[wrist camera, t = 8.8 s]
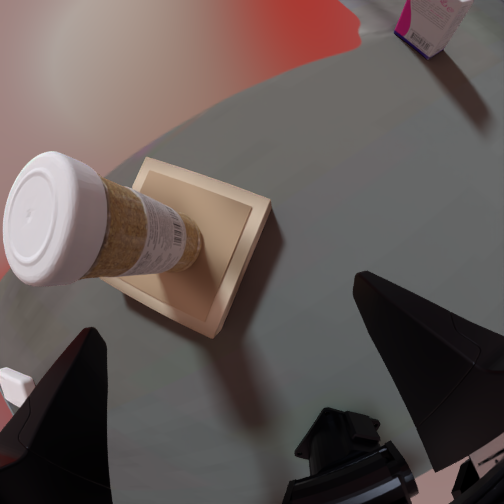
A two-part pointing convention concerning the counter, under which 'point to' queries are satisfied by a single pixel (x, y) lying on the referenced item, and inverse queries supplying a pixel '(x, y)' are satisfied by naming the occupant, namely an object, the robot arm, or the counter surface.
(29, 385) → the soap
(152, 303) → the beech tray
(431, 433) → the robot arm
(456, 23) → the supplement box
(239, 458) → the counter surface
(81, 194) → the sprinkles bottle
